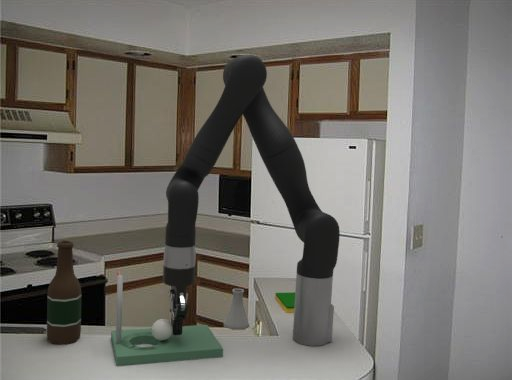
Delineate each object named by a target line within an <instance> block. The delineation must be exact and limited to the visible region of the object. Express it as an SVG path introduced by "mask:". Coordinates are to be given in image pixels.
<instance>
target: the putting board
mask: <svg viewBox="0 0 512 380" xmlns="http://www.w3.org/2000/svg"><path fill="white" fill-rule="evenodd" d="M116 275H117V277H116V283H117V284H116V286H117V287H116V288H117V289H116V320H115V321H116V324H115V330H111V335H110V341H111V345H112V349H113V354H114V360H115V363H116V366H117V367H119V366H131V365H143V364H153V363H164V362H165V363H167V362H177V361H178V362H180V361H189V360H200V359H211V358H212V359H214V358H223V356H224V348H223V346H222V345H221V343H220V342H219V340H218V339H217V338H216V336H215V335H214V333H213V331H212V329H211V328H210V327H209V326H208V325H207V324H198V325H196V324H195V325H194V324H193V325H184V326H183V325H182V334H181V335H173V333H172V335H171V336H170V337H169V338H168V339H167V340H163V341H161V340H157V339H156V338H154V336H153V335H152V327H151V328H137V329H133V328H132V329H122V324H123V323H122V322H123V320H122V319H123V317H122V316H123V290H124V289H123V285H124V281H123V280H124V275H122V274H121V271H120V270H119V269H118V270H117V273H116ZM139 344H148V345H151V346H137V345H139Z"/></svg>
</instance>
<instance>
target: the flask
mask: <svg viewBox="0 0 512 380" xmlns="http://www.w3.org/2000/svg"><path fill="white" fill-rule="evenodd" d="M244 292H245V289H243V288H233V289H232V300H231V304H230V306H229V309H228V312H227V314H226V316H225V318H224V321H223V327H224V328H225V329H229V330H235V331H236V330H237V331H244V330H246V329H248V328H250V324H249V323H250V322H249V319H248V317H247V313H246V310H245V305H244V299H243V297H244V295H243V294H244Z"/></svg>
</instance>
